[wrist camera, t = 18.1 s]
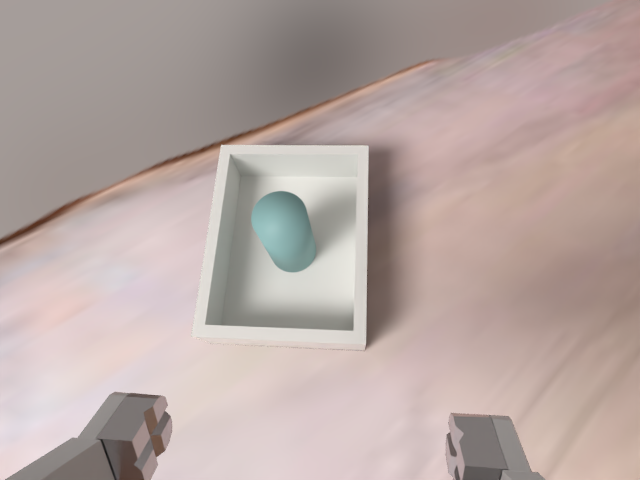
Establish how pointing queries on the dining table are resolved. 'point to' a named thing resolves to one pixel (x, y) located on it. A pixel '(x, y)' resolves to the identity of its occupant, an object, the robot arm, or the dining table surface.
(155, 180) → the dining table surface
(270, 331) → the tote
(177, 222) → the dining table surface
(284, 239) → the teal cylinder
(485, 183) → the dining table surface
